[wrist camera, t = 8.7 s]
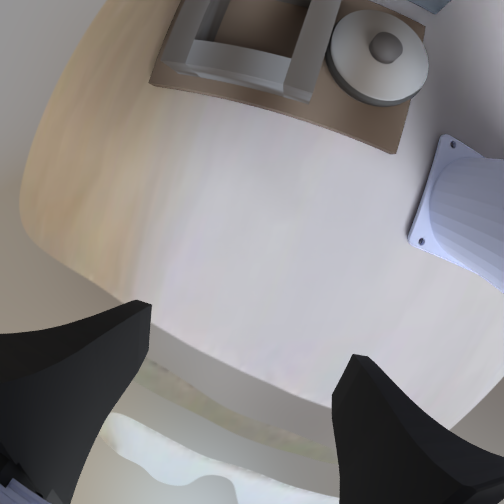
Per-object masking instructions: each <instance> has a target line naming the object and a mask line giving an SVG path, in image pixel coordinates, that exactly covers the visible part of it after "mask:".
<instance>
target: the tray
mask: <svg viewBox="0 0 504 504" xmlns="http://www.w3.org/2000/svg"><path fill="white" fill-rule="evenodd" d="M408 1H410V2H412V3H415V4H417V5H419V6H420V7H422V8H424V9H426V10H428V11H430V12H432V13H434V14H436V13H438V12H439V11H440V10H441V9H442V8H443V7H444V6H445V5H446V4H447V3H449V2H450V1H451V0H408Z"/></svg>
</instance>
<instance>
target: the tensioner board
mask: <svg viewBox="0 0 504 504" xmlns="http://www.w3.org/2000/svg"><path fill="white" fill-rule="evenodd" d="M424 32H425V26H424V25H422V24H420V23H418V22H416V21H414V20H412V19H410V18H408V17H406V16H404V15H401V14H399V13H397V12H395V11H393V10H390V9H388V8H386V7H383V6H381V5H378V4H376V3H374V2H371V1H368V0H181V2H180V4H179V7H178V9H177V11H176V13H175V15H174V18H173V20H172V22H171V25H170V27H169V29H168V32H167V34H166V37H165V39H164V42H163V44H162V47H161V49H160V52H159V55H158V57H157V60H156V63H155V66H154V69H153V71H152V74H151V77H150V80H149V83H150V84H152V85H154V86H158V87H165V88H171V89H177V90H183V91H188V92H194V93H199V94H204V95H209V96H213V97H218V98H223V99H227V100H231V101H235V102H239V103H243V104H247V105H251V106H255V107H259V108H263V109H266V110H270V111H273V112H277V113H280V114H283V115H287V116H290V117H293V118H296V119H299V120H303V121H306V122H309V123H312V124H315V125H318V126H320V127H323V128H326V129H329V130H332V131H334V132H337V133H340V134H343V135H345V136H348V137H350V138H353V139H355V140H358V141H361V142H363V143H365V144H368V145H370V146H373V147H375V148H377V149H380V150H382V151H384V152H387V153H389V154H396V152H397V148H398V145H399V142H400V138H401V135H402V131H403V127H404V124H405V120H406V116H407V112H408V109H409V105H410V101H411V98H413V97H414V96H415V95H416V94H417V93H418V92H419V91H420V89H421V88H422V86H423V84H424V82H425V80H426V78H427V75H428V69H429V62H428V56H427V53H426V50H425V47H424V45H423V38H424Z"/></svg>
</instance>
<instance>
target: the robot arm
mask: <svg viewBox="0 0 504 504" xmlns="http://www.w3.org/2000/svg"><path fill="white" fill-rule="evenodd" d="M451 141H452V142H453V144H454V147H453V148H452V147H451V145H450V143H451ZM420 238H422V239H423V242H422V243H421V244H419V243H418V241H419V239H420ZM407 239H408V242H409V244H411V245H412V246H414V247H416V248H419V249H421V250H424V251H426V252H428V253H431V254H433V255H435V256H438V257H440V258H443V259H445V260H447V261H449V262H452V263H454V264H456V265H459V266H461V267H463V268H465V269H468V270H470V271H472V272H474V273H476V274H478V275H479V276H481V277H482V278H484V279H485V280H486V281H488V282H489V283H490V284H492V285H493V286H494V287H496V288H497V289H498V290H500V291H501V292H502V293H504V159H492V158H485V157H484V156H482V155H481V154H479V153H478V152H476V151H475V150H473V149H471V148H470V147H468V146H467V145H465V144H464V143H462V142H460V141H459V140H457V139H455V138H454V137H452V136H450V135H448V134H443V135H441V136H440V139H439V143H438V146H437V150H436V154H435V157H434V161H433V164H432V168H431V171H430V174H429V177H428V181H427V184H426V187H425V190H424V193H423V196H422V199H421V202H420V205H419V207H418V210H417V213H416V216H415V219H414V221H413V224H412V227H411V229H410V232H409V234H408V238H407ZM151 309H152V305H151V304H148V303H145V302H142V301H139V300H134V301H131V302H128V303H125V304H122V305H120V306H117V307H115V308H112V309H110V310H107V311H104V312H102V313H99V314H96V315H94V316H91V317H88V318H85V319H82V320H78V321H75V322H72V323H69V324H66V325H62V326H58V327H54V328H49V329H44V330H39V331H30V332H22V333H11V334H0V504H70V503H71V499H72V497H73V493H74V490H75V487H76V485H77V482H78V479H79V476H80V474H81V471H82V469H83V466H84V464H85V461H86V459H87V457H88V454H89V452H90V450H91V448H92V445H93V443H94V441H95V439H96V437H97V435H98V433H99V431H100V429H101V427H102V425H103V423H104V421H105V420H106V418H107V416H108V415H109V413H110V412H111V410H112V409H113V407H114V406H115V404H116V403H117V401H118V400H119V398H120V397H121V395H122V394H123V393H124V391H125V390H126V388H127V387H128V386H129V384H130V383H131V381H132V380H133V378H134V377H135V375H136V374H137V372H138V371H139V369H140V367H141V365H142V363H143V361H144V359H145V357H146V355H147V352H148V349H149V334H150V321H151ZM332 422H333V429H334V436H335V442H336V449H337V456H338V463H339V473H340V500H339V504H498V503H499V502H500V501H501V500H503V499H504V457H502V456H499V455H496V454H493V453H490V452H488V451H486V450H483V449H481V448H479V447H477V446H475V445H473V444H471V443H469V442H467V441H465V440H463V439H462V438H460V437H458V436H457V435H455V434H454V433H452V432H450V431H449V430H447V429H446V428H445V427H443V426H442V425H440V424H439V423H438V422H436V421H435V420H434V419H433V418H431V417H430V416H429V415H428V414H426V413H425V412H424V411H423V410H422V409H421V408H419V407H418V406H417V405H416V404H415V403H414V402H413V401H412V400H411V399H410V398H409V397H408V396H407V395H406V394H405V393H404V392H403V391H402V390H401V389H400V388H399V387H398V386H397V385H396V384H395V383H394V382H393V381H392V380H391V379H390V378H389V377H388V376H387V375H386V374H385V373H384V372H383V370H382V369H381V368H380V367H379V366H378V365H377V364H376V363H375V362H374V361H372V360H371V359H370V358H369V357H368V356H362V355H356V354H352V356H351V359H350V361H349V363H348V365H347V367H346V369H345V371H344V373H343V375H342V377H341V379H340V380H339V382H338V384H337V386H336V388H335V390H334V392H333V394H332Z"/></svg>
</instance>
